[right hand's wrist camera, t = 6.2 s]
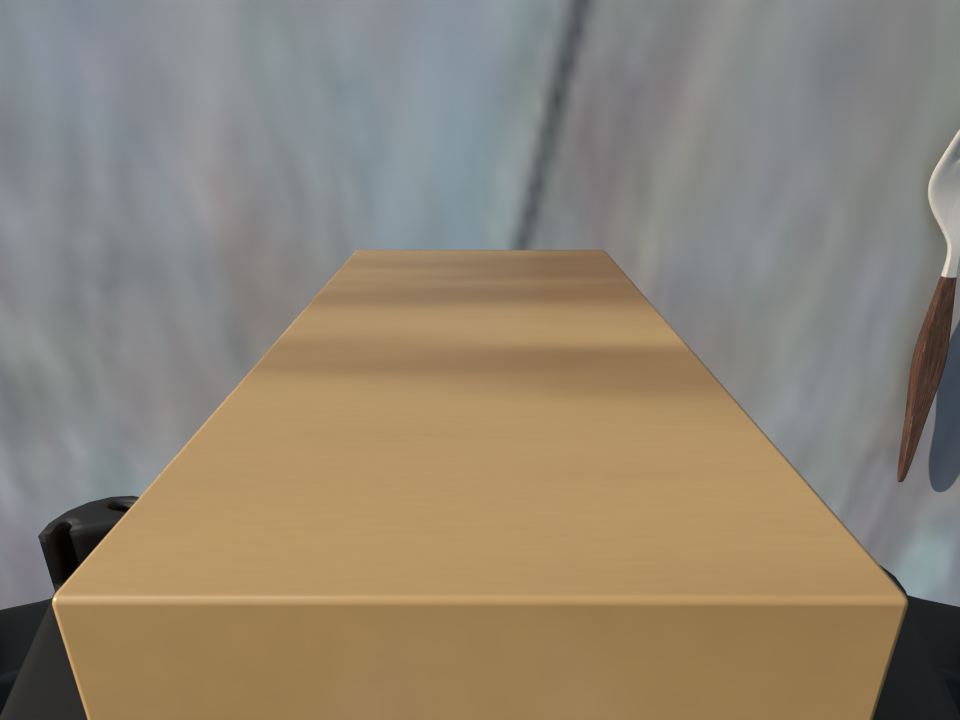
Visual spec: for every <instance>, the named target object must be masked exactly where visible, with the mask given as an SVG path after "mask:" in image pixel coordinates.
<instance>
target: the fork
mask: <svg viewBox="0 0 960 720" xmlns="http://www.w3.org/2000/svg"><path fill="white" fill-rule="evenodd" d="M959 147H960V130H959V131H958V133H957V134H956V136H955V137H954V139H953V140H952V142H951V143H950V145H949V147H948V148H947V150H946V151H945V153H944V155H943V156H942V158H941V160H940V161H939V163H938V165H937V166H936V168H935V170H934V172H933V174H932V176H931V179H930V182H929V187H928V198H929V203H930V206H931V209H932V212H933V214H934V216H935V218H936V220H937V222H938V224H939V226H940V228H941V230H942V232H943V234H944V236H945V239H946V242H947V248H948V251H947V258H946V262H945V265H944V268H943V271H942V274H941V277H940V280H939V283H938V285H937V288H936V291H935V293H934V296H933V299H932V302H931V304H930V307H929V310H928V312H927V315H926V318H925V320H924V323H923V326H922V329H921V332H920V335H919V338H918V341H917V344H916V347H915V351H914V354H913V359H912V363H911V369H910V377H909V385H908V395H907V405H906V414H905V422H904V429H903V435H902V442H901V448H900V456H899V464H898V482H903V481H904V479H905V477H906V475H907V472H908V470H909V467H910V465H911V462H912V459H913V457H914V454H915V451H916V448H917V445H918V442H919V439H920V436H921V433H922V430H923V427H924V424H925V421H926V419H927V416H928V413H929V410H930V407H931V405H932V402H933V399H934V396H935V394H936V391H937V388H938V385H939V382H940V379H941V376H942V373H943V370H944V366H945V362H946V357H947V352H948V346H949V339H950V331H951V322H952V313H953V304H954V295H955V286H956V278H957V271H958V264H959V259H960V156H956V154H957V151H958V149H959Z"/></svg>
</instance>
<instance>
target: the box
mask: <svg viewBox="0 0 960 720" xmlns="http://www.w3.org/2000/svg"><path fill="white" fill-rule="evenodd" d="M52 606H53V609H54V612H55V616H56V619H57V622H58V625H59V629H60V632H61V635H62V638H63V641H64V645H65V648H66V651H67V654H68V658H69V661H70V664H71V667H72V670H73V674H74V677H75V680H76V683H77V687H78V690H79V693H80V696H81V700H82V703H83V706H84V709H85V712H86V716H87V719H88V720H873V717H874V713H875V710H876V707H877V704H878V701H879V697H880V694H881V691H882V688H883V684H884V681H885V678H886V675H887V672H888V668H889V665H890V662H891V659H892V655H893V652H894V649H895V646H896V643H897V639H898V636H899V633H900V630H901V626H902V623H903V620H904V617H905V614H906V610H907V607H908V600H907V597H906V595H905V594H904V593H903V592H902V590H901V589H900V588H899V587H898V586H897V585H896V584H895V582H894V581H893V580H892V579H891V578H890V577H889V576H888V574H887V573H886V572H885V571H884V570H883V569H882V568H881V566H880V565H879V564H878V563H877V562H876V561H875V559H874V558H873V557H872V556H871V555H870V554H869V553H868V551H867V550H866V549H865V548H864V547H863V546H862V545H861V543H860V542H859V541H858V540H857V539H856V538H855V537H854V535H853V534H852V533H851V532H850V531H849V530H848V529H847V527H846V526H845V525H844V524H843V523H842V522H841V521H840V519H839V518H838V517H837V516H836V515H835V514H834V513H833V511H832V510H831V509H830V508H829V507H828V506H827V505H826V503H825V502H824V501H823V500H822V499H821V498H820V497H819V495H818V494H817V493H816V492H815V491H814V490H813V489H812V487H811V486H810V485H809V484H808V483H807V482H806V480H805V479H804V478H803V477H802V476H801V475H800V474H799V472H798V471H797V470H796V469H795V468H794V467H793V466H792V464H791V463H790V462H789V461H788V460H787V459H786V458H785V456H784V455H783V454H782V453H781V452H780V451H779V450H778V448H777V447H776V446H775V445H774V444H773V443H772V442H771V440H770V439H769V438H768V437H767V436H766V435H765V434H764V432H763V431H762V430H761V429H760V428H759V427H758V426H757V424H756V423H755V422H754V421H753V420H752V419H751V418H750V416H749V415H748V414H747V413H746V412H745V411H744V410H743V408H742V407H741V406H740V405H739V404H738V403H737V402H736V400H735V399H734V398H733V397H732V396H731V395H730V393H729V392H728V391H727V390H726V389H725V388H724V387H723V385H722V384H721V383H720V382H719V381H718V380H717V379H716V377H715V376H714V375H713V374H712V373H711V372H710V371H709V369H708V368H707V367H706V366H705V365H704V364H703V363H702V361H701V360H700V359H699V358H698V357H697V356H696V355H695V353H694V352H693V351H692V350H691V349H690V348H689V347H688V345H687V344H686V343H685V342H684V341H683V340H682V339H681V337H680V336H679V335H678V334H677V333H676V332H675V331H674V329H673V328H672V327H671V326H670V325H669V324H668V323H667V321H666V320H665V319H664V318H663V317H662V316H661V314H660V313H659V312H658V311H657V310H656V309H655V308H654V306H653V305H652V304H651V303H650V302H649V301H648V300H647V298H646V297H645V296H644V295H643V294H642V293H641V292H640V290H639V289H638V288H637V287H636V286H635V285H634V284H633V282H632V281H631V280H630V279H629V278H628V277H627V276H626V274H625V273H624V272H623V271H622V270H621V269H620V268H619V266H618V265H617V264H616V263H615V262H614V261H613V260H612V258H611V257H610V256H609V255H608V254H607V253H606V252H605V251H604V250H357V251H355V252H354V253H353V255H352V256H351V257H350V258H349V259H348V260H347V261H346V263H345V264H344V265H343V266H342V267H341V268H340V269H339V271H338V272H337V273H336V274H335V275H334V276H333V277H332V279H331V280H330V281H329V282H328V283H327V284H326V285H325V287H324V288H323V289H322V290H321V291H320V292H319V293H318V295H317V296H316V297H315V298H314V299H313V300H312V301H311V303H310V304H309V305H308V306H307V307H306V308H305V309H304V311H303V312H302V313H301V314H300V315H299V316H298V317H297V319H296V320H295V321H294V322H293V323H292V324H291V325H290V327H289V328H288V329H287V330H286V331H285V332H284V333H283V335H282V336H281V337H280V338H279V339H278V340H277V341H276V342H275V344H274V345H273V346H272V347H271V348H270V349H269V350H268V352H267V353H266V354H265V355H264V356H263V357H262V358H261V360H260V361H259V362H258V363H257V364H256V365H255V366H254V368H253V369H252V370H251V371H250V372H249V373H248V374H247V376H246V377H245V378H244V379H243V380H242V381H241V382H240V384H239V385H238V386H237V387H236V388H235V389H234V390H233V392H232V393H231V394H230V395H229V396H228V397H227V398H226V400H225V401H224V402H223V403H222V404H221V405H220V406H219V408H218V409H217V410H216V411H215V412H214V413H213V414H212V416H211V417H210V418H209V419H208V420H207V421H206V422H205V424H204V425H203V426H202V427H201V428H200V429H199V430H198V431H197V433H196V434H195V435H194V436H193V437H192V438H191V439H190V441H189V442H188V443H187V444H186V445H185V446H184V447H183V449H182V450H181V451H180V452H179V453H178V454H177V455H176V457H175V458H174V459H173V460H172V461H171V462H170V463H169V465H168V466H167V467H166V468H165V469H164V470H163V471H162V473H161V474H160V475H159V476H158V477H157V478H156V479H155V481H154V482H153V483H152V484H151V485H150V486H149V487H148V489H147V490H146V491H145V492H144V493H143V494H142V495H141V497H140V498H139V499H138V500H137V501H136V502H135V503H134V505H133V506H132V507H131V508H130V509H129V510H128V511H127V513H126V514H125V515H124V516H123V517H122V518H121V519H120V521H119V522H118V523H117V524H116V525H115V526H114V527H113V528H112V530H111V531H110V532H109V533H108V534H107V535H106V536H105V538H104V539H103V540H102V541H101V542H100V543H99V544H98V546H97V547H96V548H95V549H94V550H93V551H92V552H91V554H90V555H89V556H88V557H87V558H86V559H85V560H84V562H83V563H82V564H81V565H80V566H79V567H78V568H77V570H76V571H75V572H74V573H73V574H72V575H71V576H70V578H69V579H68V580H67V581H66V582H65V583H64V584H63V586H62V587H61V588H60V589H59V590H58V591H57V592H56V594H55V595H54V597H53V600H52Z"/></svg>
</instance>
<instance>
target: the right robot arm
mask: <svg viewBox="0 0 960 720" xmlns="http://www.w3.org/2000/svg"><path fill="white" fill-rule="evenodd" d="M139 498H140V497H135V496H121V497H110V498H105V499H101V500H97V501H93V502H89V503H86V504H84V505H82V506H79V507H77V508H74V509H72V510H70V511H67V512H66V513H64V514H63V515H61V516H60V517H58V518H57V519H55V520H54V521H52V522H50V523H49V524H48V525H47V527H46V528H45V529H44V530H43V531H42V532H41V533H40V535H39V536H38V537H39V540H40V543H41V547H42V550H43V553H44V557H45V560H46V563H47V566H48V570H49V573H50V576H51V580H52V583H53V586H54V589H55V592H54V595H55V594H56V592H57V591H58V590H59V589H60V588H61V587H62V586H63V584H64V583H65V582H66V581H67V580H68V579H69V578H70V576H71V575H72V574H73V573H74V572H75V571H76V570H77V568H78V567H79V566H80V565H81V564H82V563H83V562H84V560H85V559H86V558H87V557H88V556H89V555H90V554H91V552H92V551H93V550H94V549H95V548H96V547H97V546H98V544H99V543H100V542H101V541H102V540H103V539H104V538H105V536H106V535H107V534H108V533H109V532H110V531H111V530H112V528H113V527H114V526H115V525H116V524H117V523H118V522H119V521H120V519H121V518H122V517H123V516H124V515H125V514H126V513H127V511H128V510H129V509H130V508H131V507H132V506H133V505H134V503H135V502H136V501H137V500H138V499H139ZM881 568H882V569H883V570H884V571H885V572H886V573H887V574H888V576H889V577H890V578H891V579H892V580H893V581H894V582H895V584H896V585H897V586H898V587H899V588H900V589H901V590H902V592H903V593H904V594H905V595H906V597H907V600H908V607H907V610H906V614H905V617H904V620H903V623H902V626H901V630H900V633H899V636H898V639H897V643H896V646H895V649H894V652H893V655H892V659H891V662H890V665H889V668H888V672H887V675H886V678H885V681H884V684H883V688H882V691H881V694H880V697H879V701H878V704H877V707H876V710H875V713H874V717H873V720H960V607H957V606H952V605H947V604H942V603H938V602H933V601H928V600H923V599H919V598H916V597H912V596H908V595H907V593H906V591H905V590H904V588H903V587H902V585H901V584H900V583H899V581H898V580H897V579H896V577H895V576H894V575H892V574H891V573H890V572H888V571H887V570H886V569H884V568H883V567H882V566H881ZM54 595H53V597H54ZM53 597H52V598H51V599H48V600H44V601H40V602H36V603H31V604H26V605H22V606H17V607H12V608H7V609H3V610H0V720H88V719H87V716H86V712H85V709H84V706H83V703H82V700H81V696H80V693H79V690H78V687H77V683H76V680H75V677H74V674H73V670H72V667H71V664H70V661H69V658H68V654H67V651H66V648H65V645H64V641H63V638H62V635H61V632H60V629H59V625H58V622H57V619H56V616H55V612H54V609H53V606H52V600H53Z"/></svg>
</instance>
